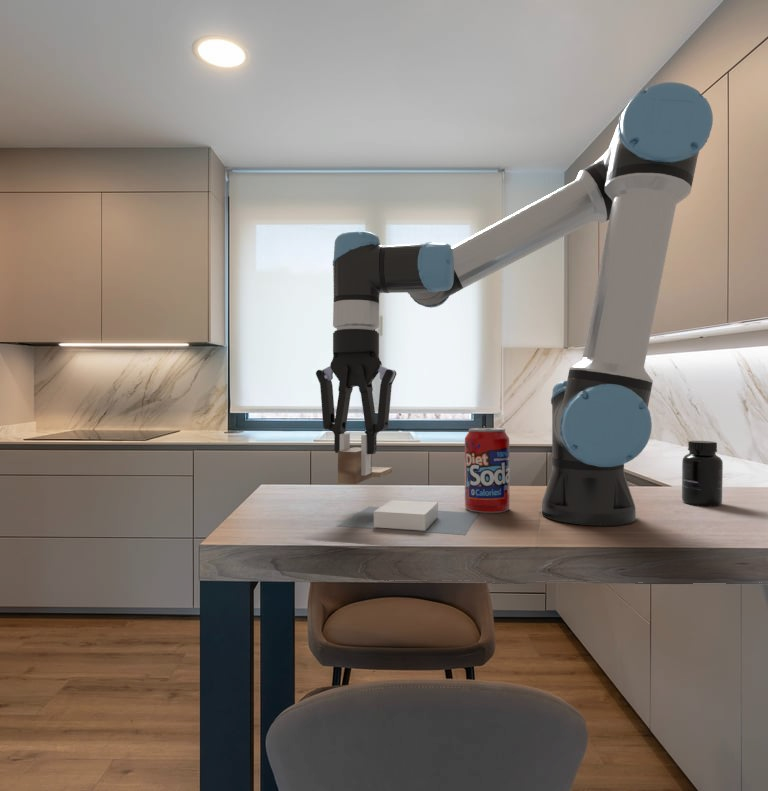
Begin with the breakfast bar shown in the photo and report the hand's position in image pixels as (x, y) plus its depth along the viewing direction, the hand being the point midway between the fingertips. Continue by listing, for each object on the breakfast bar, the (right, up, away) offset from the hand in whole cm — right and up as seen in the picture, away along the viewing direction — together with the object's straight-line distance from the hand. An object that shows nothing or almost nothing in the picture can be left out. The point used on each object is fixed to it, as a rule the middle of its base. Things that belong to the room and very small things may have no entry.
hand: (355, 473), depth 92 cm
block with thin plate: (+1, -1, +4) cm, 4 cm away
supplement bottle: (+66, -8, +17) cm, 69 cm away
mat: (+9, -8, 0) cm, 12 cm away
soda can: (+23, -8, +9) cm, 26 cm away
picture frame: (+10, -6, +3) cm, 12 cm away
